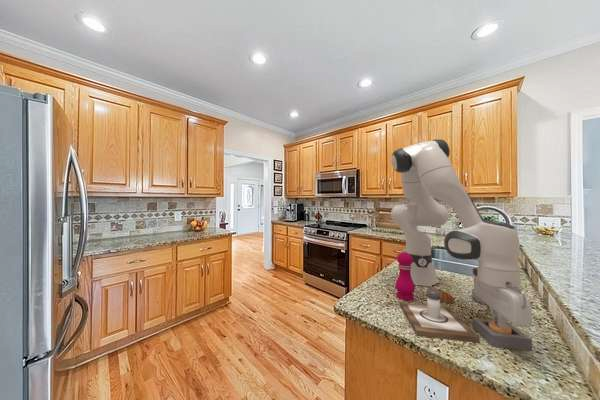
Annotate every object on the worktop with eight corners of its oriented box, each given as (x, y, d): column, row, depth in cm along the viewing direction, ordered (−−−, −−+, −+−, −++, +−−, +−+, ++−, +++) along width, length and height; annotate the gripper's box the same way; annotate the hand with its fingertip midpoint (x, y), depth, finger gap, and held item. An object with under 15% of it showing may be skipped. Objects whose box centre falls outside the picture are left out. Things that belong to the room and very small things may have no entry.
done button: (484, 328, 65) (484, 320, 65) (503, 330, 64) (503, 322, 64) (496, 338, 60) (495, 329, 60) (516, 340, 59) (516, 331, 59)
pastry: (455, 300, 87) (455, 291, 87) (452, 306, 82) (452, 296, 83) (429, 293, 94) (429, 284, 94) (425, 298, 89) (424, 289, 89)
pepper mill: (391, 295, 91) (391, 248, 92) (404, 293, 94) (404, 247, 94) (405, 302, 84) (405, 251, 85) (419, 300, 87) (418, 250, 87)
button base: (472, 327, 67) (472, 318, 67) (506, 331, 65) (506, 321, 65) (492, 346, 58) (492, 335, 58) (532, 351, 56) (531, 339, 56)
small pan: (506, 301, 86) (506, 292, 86) (509, 319, 73) (509, 307, 73) (472, 294, 93) (472, 285, 93) (469, 309, 80) (469, 298, 80)
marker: (424, 313, 72) (424, 289, 72) (434, 312, 73) (434, 288, 73) (432, 319, 68) (432, 293, 69) (443, 318, 69) (443, 293, 69)
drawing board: (400, 306, 81) (400, 301, 81) (447, 310, 78) (447, 305, 78) (416, 335, 63) (416, 329, 63) (479, 342, 60) (479, 335, 60)
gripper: (541, 292, 51) (542, 351, 51) (491, 268, 71) (492, 311, 71) (508, 289, 53) (509, 346, 53) (469, 267, 73) (469, 308, 72)
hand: (499, 326), depth 62 cm, fingers closed, pressing on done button
